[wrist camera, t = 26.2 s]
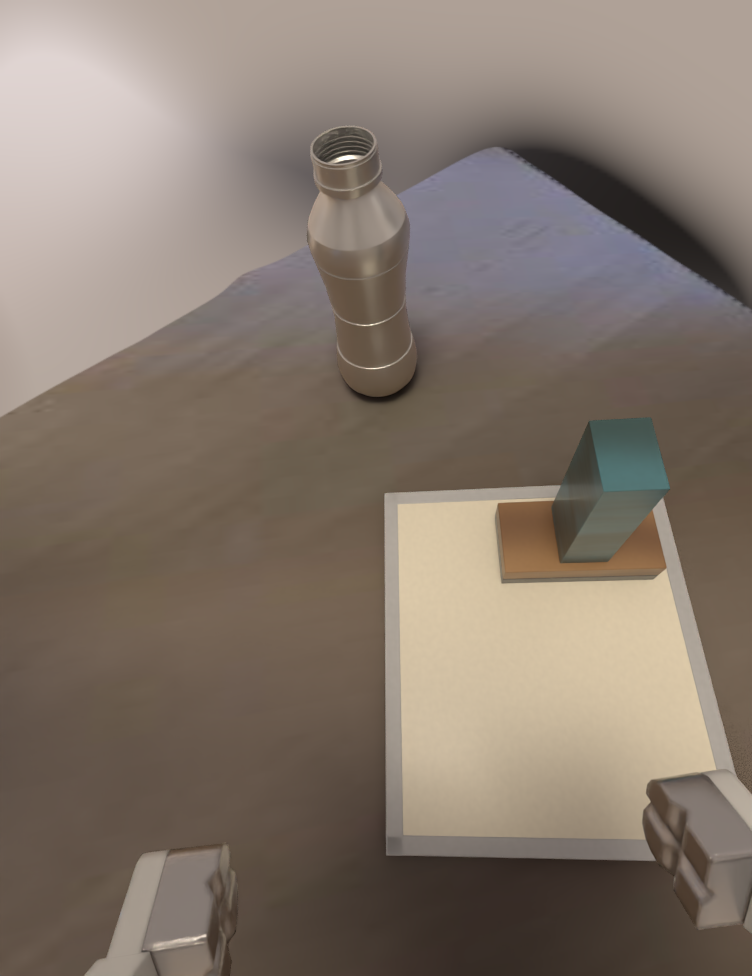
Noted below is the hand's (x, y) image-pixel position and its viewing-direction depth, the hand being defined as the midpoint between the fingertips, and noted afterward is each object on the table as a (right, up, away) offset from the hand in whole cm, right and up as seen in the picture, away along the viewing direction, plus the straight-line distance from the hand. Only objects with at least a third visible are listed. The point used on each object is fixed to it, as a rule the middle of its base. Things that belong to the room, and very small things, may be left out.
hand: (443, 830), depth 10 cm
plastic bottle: (-1, +16, +37) cm, 40 cm away
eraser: (+12, +2, +27) cm, 30 cm away
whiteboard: (+9, -4, +25) cm, 27 cm away
